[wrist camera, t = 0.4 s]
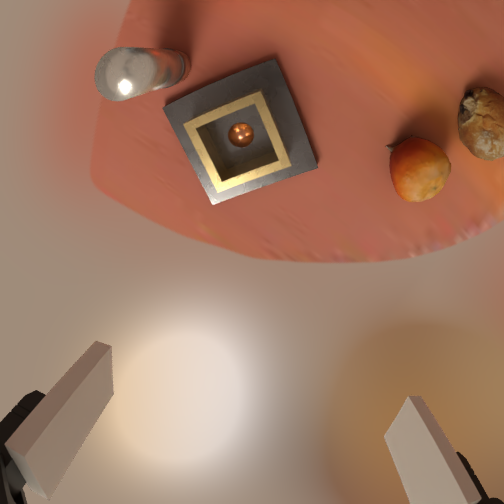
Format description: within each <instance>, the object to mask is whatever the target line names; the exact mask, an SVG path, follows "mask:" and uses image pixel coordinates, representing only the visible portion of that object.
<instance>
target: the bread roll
mask: <svg viewBox="0 0 504 504" xmlns="http://www.w3.org/2000/svg"><path fill="white" fill-rule="evenodd" d="M458 125H459V128H458V130H459V135H460V140H461V141H462V142H463V144H464V145H465V146H466V147H467V148H468V149H469V150H470V152H471V153H472V154H473V155H474V156H476V157H478V158H481V159H484V160H490V161H493V160H494V159H497V158H501V157H504V97H502V96H501V95H500V94H499V93H497V92H495V91H494V90H492V89H490V88H487V87H481V88H475V89H473V90H468V91H466V92H465V96H464V98H463V99H462V101H461V105H460V110H459V114H458Z"/></svg>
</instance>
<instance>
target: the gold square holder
mask: <svg viewBox="0 0 504 504" xmlns="http://www.w3.org/2000/svg"><path fill="white" fill-rule="evenodd" d="M163 110H164V112H165V114H166V116H167V118H168V120H169V122H170V124H171V126H172V128H173V130H174V131H175V133H176V135H177V137H178V139H179V141H180V143H181V145H182V147H183V149H184V151H185V153H186V155H187V157H188V159H189V160H190V162H191V164H192V166H193V168H194V170H195V172H196V174H197V176H198V178H199V180H200V182H201V184H202V185H203V187H204V189H205V191H206V193H207V195H208V197H209V199H210V201H211V203H212V204H213V205H214V204H217V203H219V202H222V201H225V200H227V199H230V198H233V197H235V196H238V195H241V194H244V193H246V192H249V191H252V190H255V189H258V188H260V187H263V186H266V185H269V184H272V183H275V182H278V181H280V180H283V179H286V178H289V177H292V176H295V175H298V174H301V173H304V172H307V171H310V170H313V169H317V168H318V166H317V163H316V160H315V158H314V155H313V152H312V149H311V146H310V144H309V141H308V138H307V135H306V133H305V130H304V127H303V125H302V122H301V120H300V117H299V114H298V112H297V109H296V107H295V104H294V102H293V99H292V97H291V94H290V92H289V90H288V87H287V85H286V82H285V80H284V78H283V75H282V73H281V71H280V68H279V66H278V64H277V62H276V59H272V60H270V61H267V62H264V63H261V64H259V65H256V66H253V67H251V68H248V69H245V70H243V71H240V72H238V73H235V74H233V75H231V76H228V77H226V78H223V79H221V80H219V81H217V82H214V83H212V84H210V85H208V86H205V87H203V88H201V89H199V90H197V91H195V92H193V93H191V94H188V95H186V96H184V97H182V98H180V99H178V100H176V101H174V102H172V103H171V104H169V105H167V106H165V107H163Z"/></svg>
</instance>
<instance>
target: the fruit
mask: <svg viewBox="0 0 504 504" xmlns="http://www.w3.org/2000/svg"><path fill="white" fill-rule="evenodd" d="M386 148H388V149H389V150H390V151H391V155H390V173H391V178H392V182H393V185H394V187H395V190H396V192H397V194H398V195H399V196H400V197H401V198H402V199H404V200H406V201H409V202H422V201H424V200H427V199H430V198H432V197H433V196H435V195H436V194H437V193H439V192H440V190H441V189H442V187H443V186H444V184H445V182H446V180H447V178H448V176H449V174H450V172H451V163H450V162H449V159H448V157H447V155H446V154H445V153H444V151H443V150H442V149H441V148H440V147H438V146H437V145H435V144H434V143H432V142H431V141H429V140H426V139H422V138H418V137H415V136H412V135H411V138H408V139H406V140H405V141H404V142H402V143H401V144H399V145H397V146H395V147H392V148H389V147H387V146H386Z"/></svg>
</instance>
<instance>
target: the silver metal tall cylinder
mask: <svg viewBox="0 0 504 504" xmlns="http://www.w3.org/2000/svg"><path fill="white" fill-rule="evenodd" d="M190 70H191V62H190V59H189V58H188V56H187V55H186V54H185V53H183V52H181V51H178V50H174V49H168V48H163V49H156V48H138V47H118V48H115V49H112V50H110V51H108V52H107V53H106V54H105V55H104V56H103V57H102V58H101V59H100V61H99V62H98V64H97V67H96V70H95V84H96V87H97V89H98V91H99V92H100V93H101V95H102V96H104V97H105V98H107V99H109V100H112V101H123V100H126V99H129V98H132V97H135V96H138V95H141V94H144V93H148V92H151V91H154V90H157V89H161V88H168V87H171V86H174V85H176V84H179V83H181V82H182V81H184V80H185V79H186V78H187V77H188V75H189V73H190Z"/></svg>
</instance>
